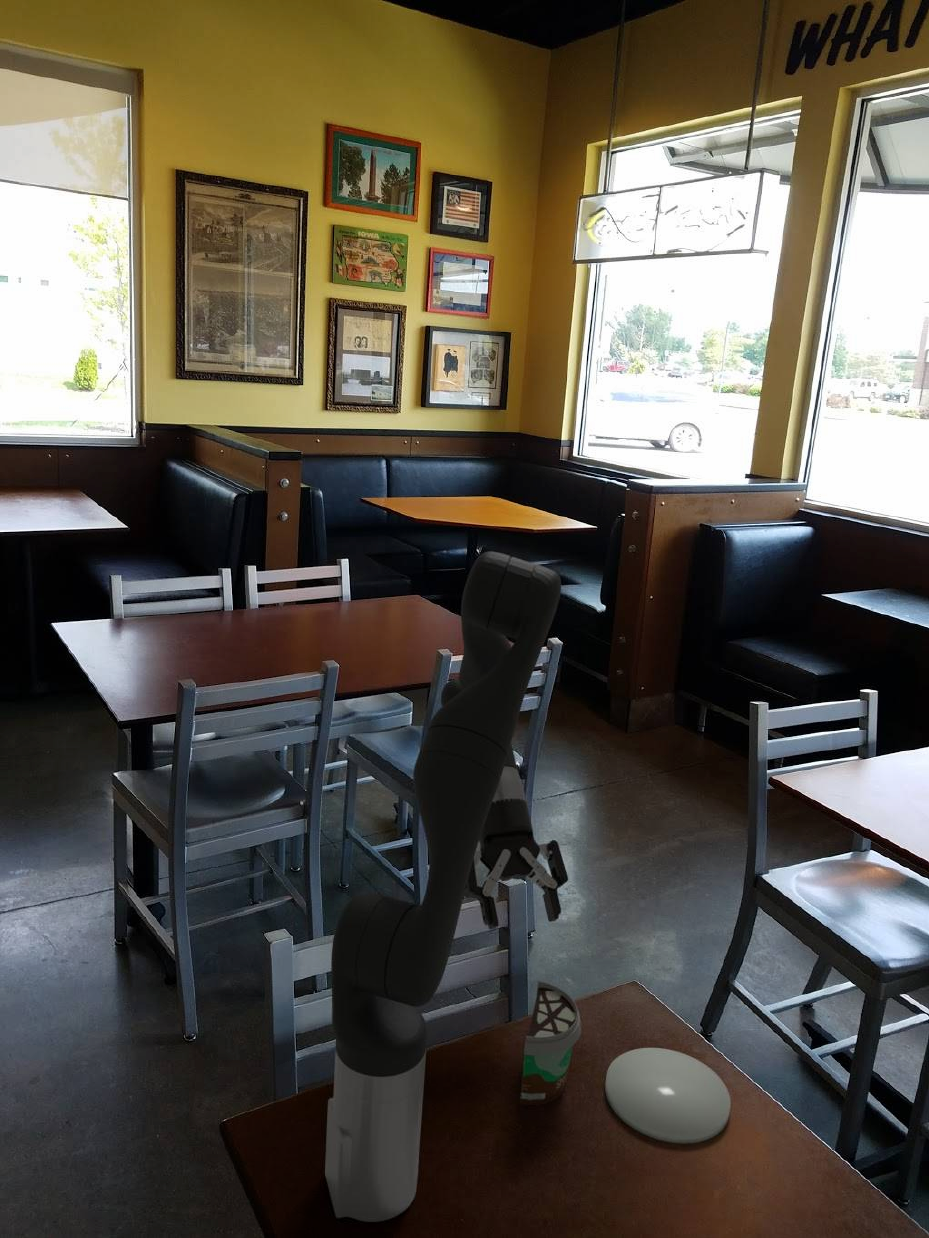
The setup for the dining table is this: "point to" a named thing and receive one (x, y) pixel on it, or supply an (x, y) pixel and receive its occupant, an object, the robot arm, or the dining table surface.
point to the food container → (549, 1045)
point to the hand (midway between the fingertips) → (524, 923)
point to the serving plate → (667, 1095)
